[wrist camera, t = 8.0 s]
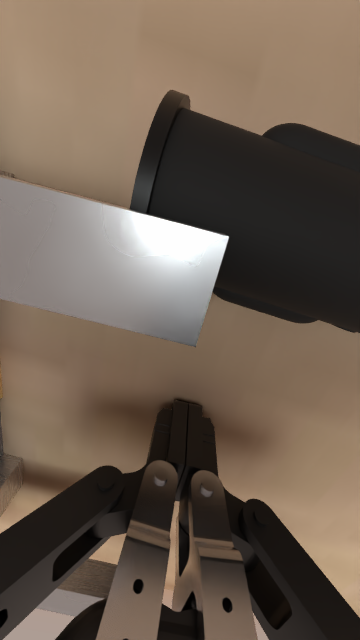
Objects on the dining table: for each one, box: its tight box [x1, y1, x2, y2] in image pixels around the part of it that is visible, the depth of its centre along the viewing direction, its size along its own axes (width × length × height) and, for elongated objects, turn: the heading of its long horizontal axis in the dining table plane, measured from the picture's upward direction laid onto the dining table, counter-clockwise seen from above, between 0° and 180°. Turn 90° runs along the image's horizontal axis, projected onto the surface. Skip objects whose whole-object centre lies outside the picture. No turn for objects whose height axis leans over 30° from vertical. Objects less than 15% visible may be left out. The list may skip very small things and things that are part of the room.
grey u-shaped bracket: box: [0, 171, 229, 617], centre depth 11 cm, size 9×18×6 cm, turn 166°
